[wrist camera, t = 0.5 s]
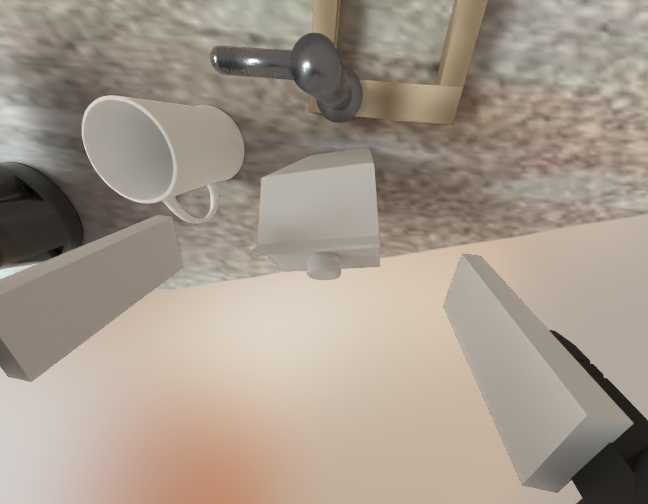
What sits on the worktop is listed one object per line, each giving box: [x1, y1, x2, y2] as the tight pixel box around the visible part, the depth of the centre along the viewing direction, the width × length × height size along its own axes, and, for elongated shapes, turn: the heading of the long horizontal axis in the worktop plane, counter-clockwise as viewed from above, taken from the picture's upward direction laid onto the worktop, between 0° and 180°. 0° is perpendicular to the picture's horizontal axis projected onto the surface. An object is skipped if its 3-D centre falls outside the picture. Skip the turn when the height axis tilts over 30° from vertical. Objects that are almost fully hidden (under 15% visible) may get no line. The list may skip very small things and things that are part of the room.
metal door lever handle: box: [210, 33, 363, 122], centre depth 19 cm, size 8×4×16 cm, turn 85°
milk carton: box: [250, 147, 381, 280], centre depth 22 cm, size 7×7×19 cm
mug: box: [82, 95, 245, 224], centre depth 26 cm, size 12×8×12 cm
